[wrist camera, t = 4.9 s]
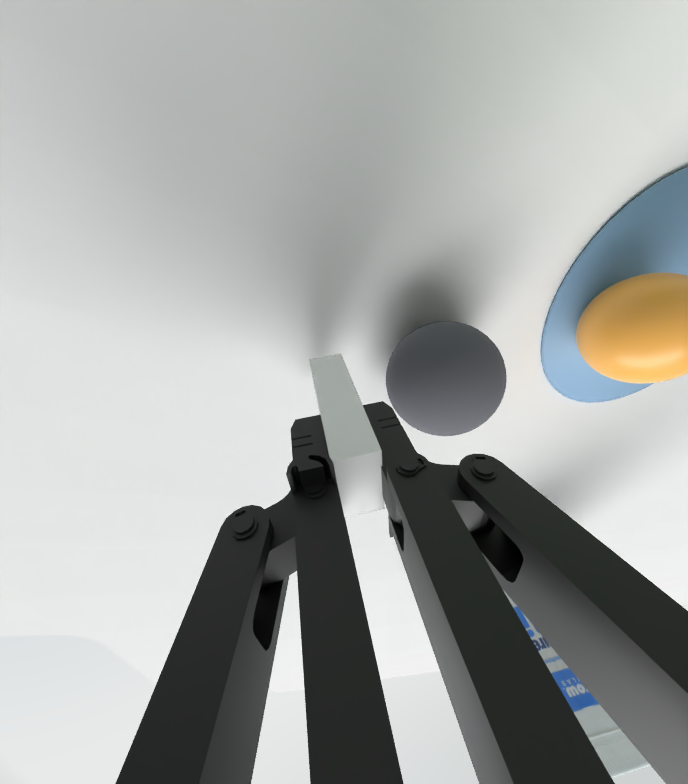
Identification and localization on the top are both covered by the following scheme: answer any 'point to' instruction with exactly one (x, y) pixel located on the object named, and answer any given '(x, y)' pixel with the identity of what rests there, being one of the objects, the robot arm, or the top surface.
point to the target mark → (615, 281)
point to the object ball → (638, 329)
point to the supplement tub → (588, 710)
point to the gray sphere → (446, 378)
